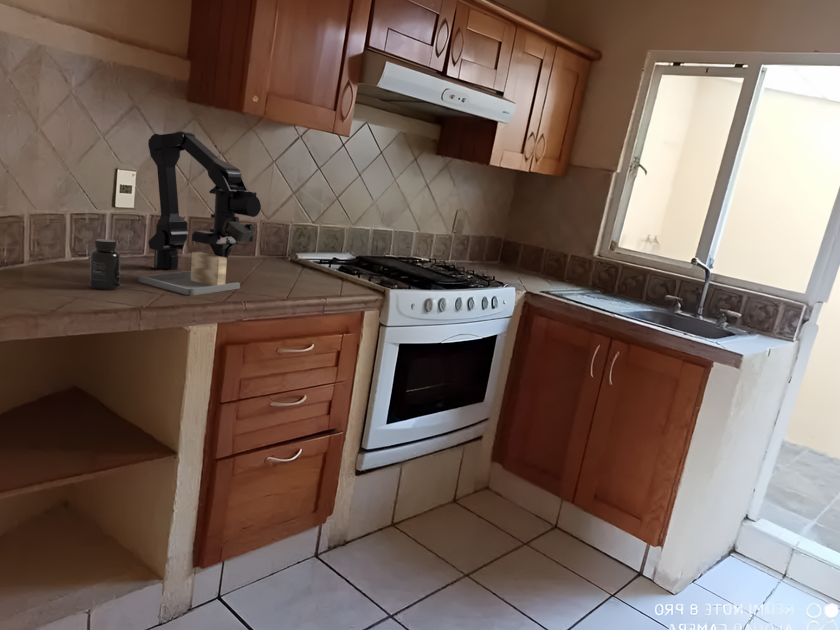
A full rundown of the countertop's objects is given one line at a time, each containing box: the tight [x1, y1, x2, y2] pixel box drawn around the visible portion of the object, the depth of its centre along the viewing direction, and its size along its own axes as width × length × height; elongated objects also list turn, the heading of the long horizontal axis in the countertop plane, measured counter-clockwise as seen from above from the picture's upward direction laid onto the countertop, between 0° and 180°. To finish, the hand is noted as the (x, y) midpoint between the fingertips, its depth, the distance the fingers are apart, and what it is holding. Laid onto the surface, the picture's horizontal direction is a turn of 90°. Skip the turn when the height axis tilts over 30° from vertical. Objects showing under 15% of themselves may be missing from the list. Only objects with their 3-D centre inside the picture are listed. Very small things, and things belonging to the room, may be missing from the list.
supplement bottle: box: [89, 238, 121, 291], centre depth 156 cm, size 7×7×12 cm
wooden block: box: [190, 251, 228, 286], centre depth 174 cm, size 10×3×8 cm, turn 64°
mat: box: [137, 270, 241, 297], centre depth 170 cm, size 19×18×2 cm
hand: (221, 266), depth 179 cm, fingers closed
